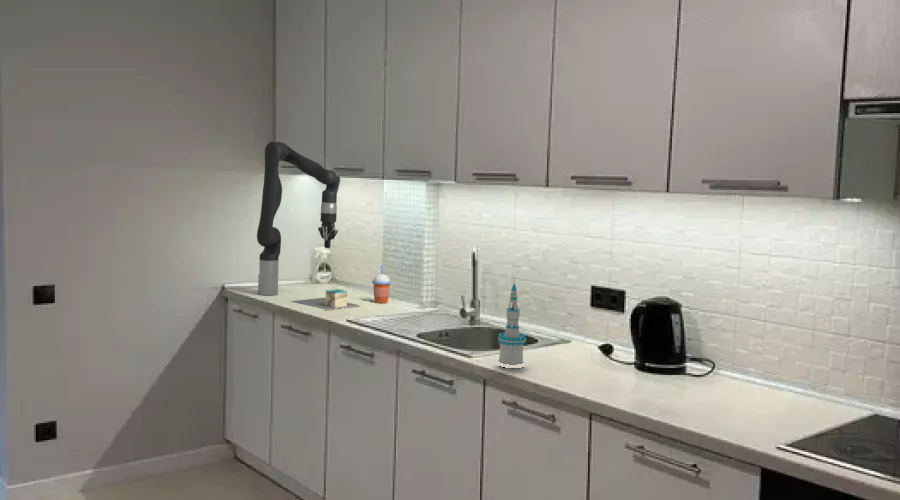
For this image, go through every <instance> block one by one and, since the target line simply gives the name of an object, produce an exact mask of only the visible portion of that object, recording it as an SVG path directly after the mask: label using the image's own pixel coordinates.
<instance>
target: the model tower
mask: <svg viewBox="0 0 900 500" xmlns="http://www.w3.org/2000/svg"><path fill="white" fill-rule="evenodd" d="M515 282H516V279H515V278H514V279H513V285H512V287H511V293H510V296H509V299H510V300H509V304H508V306H507V308H505V309H506V315H505V316H506V320H507V321H506V326H505V330H504V332H499V333H498V337H497V340H498V341H497V343H498V344H499V356H498V357H499V358H498V360H497V361H499V362H500V363H503V364H509V365H517V364H522V363H523V362H524V345H525V344H526V341H527V338H526V334H524V333H522V332H521V333H520V326H519V319H520V311H521V308H519V305H518V299H519V296H518V293H517V287H516V283H515Z"/></svg>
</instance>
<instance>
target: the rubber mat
mask: <svg viewBox="0 0 900 500" xmlns="http://www.w3.org/2000/svg"><path fill="white" fill-rule="evenodd" d="M325 301H326V297H318V298H317V297H316V298H309V299H308V298H307V299H299V300H290V301H289V302H291V303H295V304H298V305H299V304H300V305H304V306H308V307H313V308H316V309H322V310H324V311H325V312H328V311H335V309H337V310H343V309H342V308H346V309H351V308H353V307H354V308H360V306H361V305H359V304H355V303H351V302H347V306H344V307H336V308H335V307H330V306H325Z"/></svg>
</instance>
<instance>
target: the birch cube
mask: <svg viewBox="0 0 900 500" xmlns="http://www.w3.org/2000/svg"><path fill="white" fill-rule="evenodd" d="M325 298H326V301H325V306H330V307H335V308H334V309H337V308H336V307H343V308H345V307H344V306H347V303H348V291H347V290H344V289H338V288H335V289H329V290H328V289H326V290H325Z"/></svg>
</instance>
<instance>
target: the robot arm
mask: <svg viewBox="0 0 900 500" xmlns="http://www.w3.org/2000/svg"><path fill="white" fill-rule="evenodd" d="M280 162H285V163H288V164H291V165H293V166H295V168H297V169H299V171H301V172H302V173H304V174H306V175H308V176H310V177H312V178H314V179H315V180H316V181H317V182H319V183H321V184H323V185H326V186H325V189H324V190H323V191H322V192H321V204H320V205H321V206H320V222H321V224H320V225H321V226H320V227H318V229H317V231H318V232H319V235H320V237H321V239H323V241H324V249H330V248H331V241H332V240H334V239H335V237H336V236H337V235H338V232H339V230H338V229H336V226H335V225H336V224H335V223H336V222H337V213H338V211H337V210H338V207H337V205H338V204H337V202H338V199H337V197H338V191H339V188H340V183H341V176H340V177H339V176H337V175H336V173H335V172H334V171H333V169H331V170H330V169H326V168H324V166H322V165H321V164H320V163H319V162H316V161H315V160H312V159H310V158H308V157H306V156H304V155H303V154H300V153H298V152H297V151H295V150H294V149H293V148H292V147H290V146H289V145H287V144H286V143H284V142H282V141H269V142H268V143H267V144H266V145H265V148H264V173H263V174H264V176H263V187H262V193H261V194H262V196H261V206H260V217H259V222H258V227H257V232H256V239H257V243H258V245H260V246H261V247H263V249H262V251H261V253H260V254H259V259H258V260H259V269H258V271H259V272H258V276H257V277H258V278H257V284H258V285H257V287H258V288H257V294H259V295H261V296H278V294H279V257H280V254H281V248H282V247H281V245H282V236H281V235H282V234H281V232H280V230H279V229H278V228H277V227H274V220H275V217H276V214H277V212H278V210H279V208H280V205H281V203H282V196H283V187H282V186H283V185H282V182H281V179H280V178H281V177H280V175H279V168H280V167H279V164H280Z"/></svg>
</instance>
